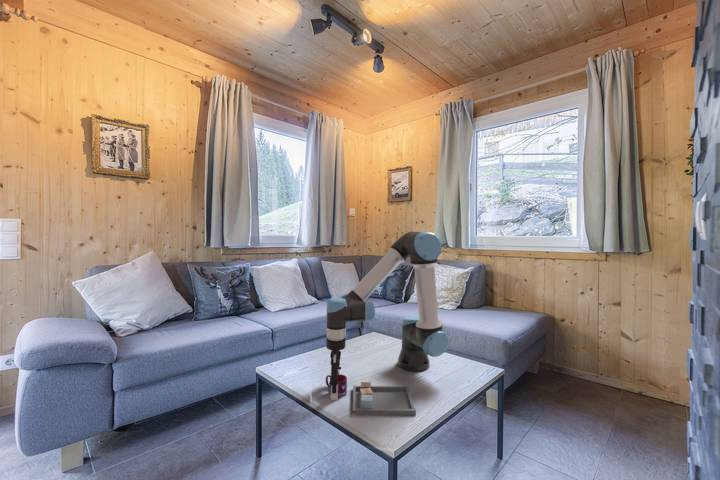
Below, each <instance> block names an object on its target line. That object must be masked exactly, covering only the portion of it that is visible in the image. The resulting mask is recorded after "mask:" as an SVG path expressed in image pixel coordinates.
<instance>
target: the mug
mask: <svg viewBox="0 0 720 480" xmlns="http://www.w3.org/2000/svg"><path fill="white" fill-rule="evenodd" d="M325 383H326V384H325V385H326V386H327V388H328V389H329V396H330V397H331V385H329V383H331V374H329V375H327V376H326V377H325ZM347 387H348V378H347V376H346V375H345V374H341V373H339V374H338V399H340V398H344V397H346V396H347V395H348V394H347V392H348V389H347Z"/></svg>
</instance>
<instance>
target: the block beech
mask: <svg viewBox="0 0 720 480" xmlns="http://www.w3.org/2000/svg"><path fill="white" fill-rule="evenodd" d="M362 395H373V392H372V390H371V388H363V389H360V400H361V397H362Z"/></svg>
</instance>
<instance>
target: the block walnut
mask: <svg viewBox="0 0 720 480" xmlns="http://www.w3.org/2000/svg"><path fill="white" fill-rule="evenodd" d="M360 386H361V389H363V388H371V386H372V382H371V381H361V382H360Z"/></svg>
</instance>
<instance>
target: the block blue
mask: <svg viewBox="0 0 720 480" xmlns="http://www.w3.org/2000/svg"><path fill="white" fill-rule="evenodd" d="M372 407H373V395H362V397H361V409H372Z"/></svg>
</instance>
